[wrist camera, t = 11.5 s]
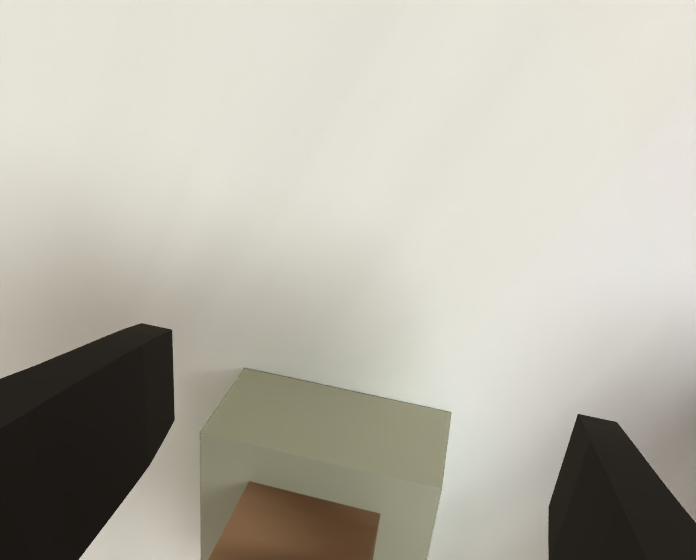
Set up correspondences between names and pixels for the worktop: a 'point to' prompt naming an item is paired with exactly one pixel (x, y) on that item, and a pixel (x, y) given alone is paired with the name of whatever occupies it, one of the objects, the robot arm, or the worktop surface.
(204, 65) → the worktop surface
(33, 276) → the worktop surface
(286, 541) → the walnut cube
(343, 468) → the sage base block
